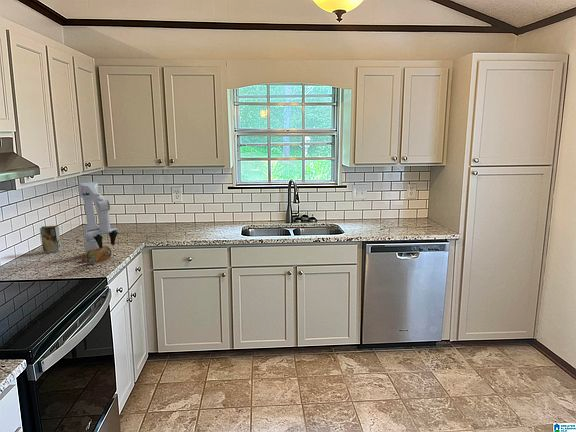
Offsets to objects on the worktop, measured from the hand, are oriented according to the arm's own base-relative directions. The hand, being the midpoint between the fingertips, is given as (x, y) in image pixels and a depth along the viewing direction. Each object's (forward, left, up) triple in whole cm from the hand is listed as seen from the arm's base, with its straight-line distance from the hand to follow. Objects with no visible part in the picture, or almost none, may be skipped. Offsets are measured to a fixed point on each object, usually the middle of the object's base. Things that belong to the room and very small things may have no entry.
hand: (106, 246), depth 235 cm
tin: (-8, -1, -10) cm, 13 cm away
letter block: (-16, -3, -10) cm, 19 cm away
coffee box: (-57, -1, -10) cm, 58 cm away
